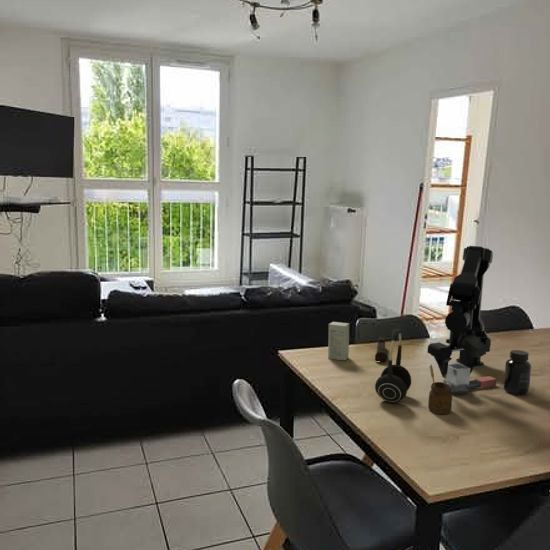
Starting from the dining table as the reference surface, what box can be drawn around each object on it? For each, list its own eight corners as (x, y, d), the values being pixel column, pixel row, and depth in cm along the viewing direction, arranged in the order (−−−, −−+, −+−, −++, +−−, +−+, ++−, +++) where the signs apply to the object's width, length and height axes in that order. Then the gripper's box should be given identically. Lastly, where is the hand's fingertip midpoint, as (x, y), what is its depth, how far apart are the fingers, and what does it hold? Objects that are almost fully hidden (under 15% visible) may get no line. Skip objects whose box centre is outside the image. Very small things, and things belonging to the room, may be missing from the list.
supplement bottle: (527, 388, 155) (531, 350, 153) (529, 397, 149) (534, 357, 147) (502, 385, 158) (506, 347, 156) (503, 393, 151) (508, 354, 149)
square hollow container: (456, 378, 156) (458, 362, 155) (468, 384, 151) (470, 368, 150) (443, 380, 154) (444, 364, 153) (455, 386, 149) (457, 370, 149)
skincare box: (348, 357, 180) (350, 323, 178) (345, 361, 176) (346, 326, 174) (331, 354, 182) (332, 320, 180) (327, 358, 178) (328, 323, 176)
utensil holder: (448, 417, 135) (451, 373, 133) (423, 411, 138) (427, 368, 136) (453, 409, 140) (457, 366, 138) (430, 403, 143) (433, 361, 141)
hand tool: (386, 364, 175) (387, 350, 174) (374, 362, 176) (375, 349, 175) (388, 347, 193) (389, 335, 192) (377, 346, 194) (378, 334, 193)
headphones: (371, 405, 141) (375, 334, 138) (382, 386, 155) (386, 321, 151) (403, 411, 138) (408, 338, 135) (412, 391, 151) (417, 325, 148)
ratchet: (483, 379, 162) (484, 364, 161) (501, 388, 156) (503, 372, 155) (437, 387, 155) (438, 371, 154) (454, 396, 148) (456, 380, 147)
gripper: (456, 334, 138) (451, 390, 141) (507, 328, 146) (502, 381, 149) (428, 324, 148) (424, 376, 151) (477, 318, 156) (473, 368, 159)
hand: (456, 375), depth 152 cm, fingers open, 9 cm apart
